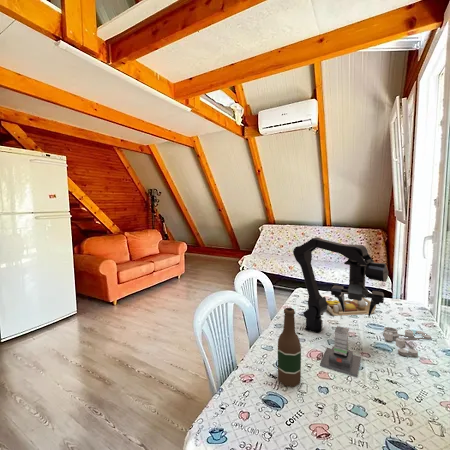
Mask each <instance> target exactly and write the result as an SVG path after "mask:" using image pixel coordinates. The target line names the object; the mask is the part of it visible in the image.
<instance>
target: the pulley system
mask: <svg viewBox="0 0 450 450" xmlns="http://www.w3.org/2000/svg"><path fill="white" fill-rule="evenodd" d="M383 329H384V330H383V331H382V334H383V336H384V340H385V341H390V342H392V341H393V342H395V347H396V346H397V347H399V348H398V349H397V353H398V354H400V355H401V356H403V357H405V356H413V357H416V356H419V351H418V350H416V349H415V348H414V347H413V346H412V345H411V344H410V343H408V342H407V341H420V340H419V339H431V340H432V335H430V334H428V333H426V332H424V331H422V330H416V331H415V332H414V331H413V330H410V329H405V330H404V334H400V333H398V332H399V330H398V329H396V328H394V327H389V326H386V327H383ZM416 333H418V334H422V335H421V336H422V337H414V336H416V335H418V334H416ZM415 334H416V335H415ZM425 334H426V335H425ZM402 336H404V337H402ZM406 337H408V338H406ZM423 337H424V338H423ZM417 339H418V340H417ZM406 346H408V347H409V349H405V348H406Z"/></svg>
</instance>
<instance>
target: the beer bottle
mask: <svg viewBox="0 0 450 450" xmlns="http://www.w3.org/2000/svg"><path fill="white" fill-rule="evenodd" d="M283 314H284V315H283V316H284V317H283V318H284V319H283V330H282V332H281V333H280V334H279V337H278V339H277V379H278V380H277V381H278V382H279V383H280V382H281V384H282V385H283V386H285V387H291V388H293V387H294V388H295V387H297V386H298V385H299V384H301V380H302V379H301V378H302V377H301V376H302V375H301V374H302V370H301V369H302V346H301V342H300V338H299V335H298V334H297V333H296V325H295V321H296V320H295V314H296V311H295V309H294V308H292V307H285V308H284V310H283Z"/></svg>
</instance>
